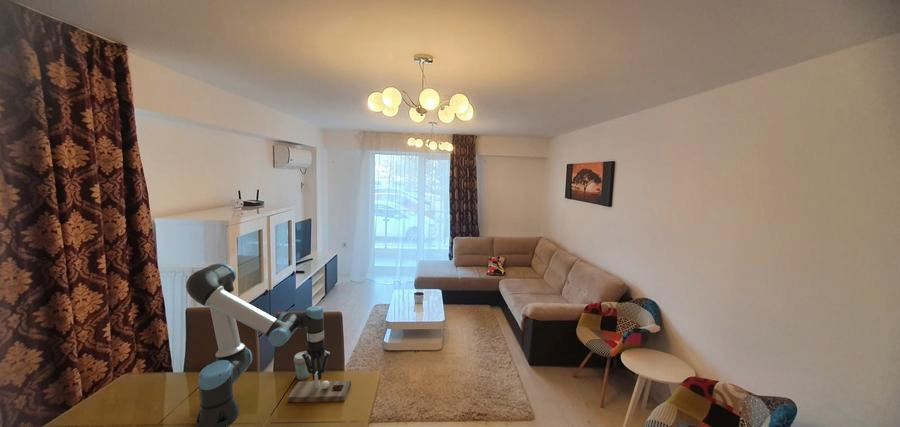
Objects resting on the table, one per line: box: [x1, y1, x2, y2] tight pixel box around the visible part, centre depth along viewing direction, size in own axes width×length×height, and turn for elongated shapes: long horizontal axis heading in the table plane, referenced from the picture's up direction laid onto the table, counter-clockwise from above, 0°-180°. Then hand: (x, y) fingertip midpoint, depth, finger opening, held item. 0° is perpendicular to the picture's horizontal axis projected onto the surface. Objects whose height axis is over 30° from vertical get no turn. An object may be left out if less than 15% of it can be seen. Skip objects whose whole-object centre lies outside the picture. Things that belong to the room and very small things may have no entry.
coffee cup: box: [293, 350, 312, 381], centre depth 171 cm, size 9×9×12 cm
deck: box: [287, 380, 352, 403], centre depth 158 cm, size 26×12×2 cm, turn 93°
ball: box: [321, 380, 329, 389], centre depth 158 cm, size 4×4×4 cm
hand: (317, 385), depth 158 cm, fingers closed
